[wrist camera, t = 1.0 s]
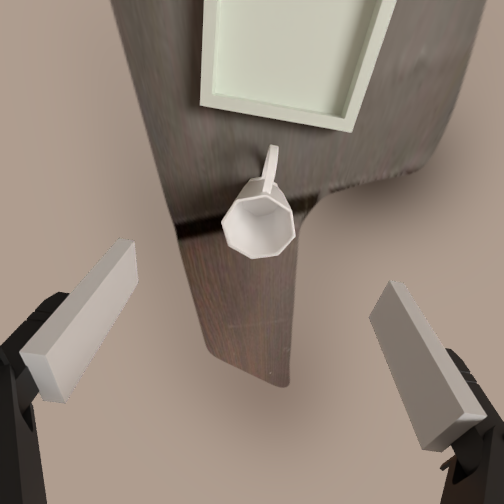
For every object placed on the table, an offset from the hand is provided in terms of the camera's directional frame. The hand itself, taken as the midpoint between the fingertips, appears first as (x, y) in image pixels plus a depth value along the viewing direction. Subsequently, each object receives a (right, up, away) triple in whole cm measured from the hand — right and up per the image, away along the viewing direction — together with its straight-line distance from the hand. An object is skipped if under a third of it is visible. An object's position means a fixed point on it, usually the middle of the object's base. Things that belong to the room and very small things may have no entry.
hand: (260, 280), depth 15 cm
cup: (+1, +9, +17) cm, 19 cm away
